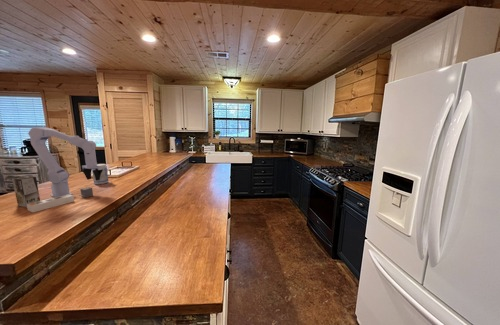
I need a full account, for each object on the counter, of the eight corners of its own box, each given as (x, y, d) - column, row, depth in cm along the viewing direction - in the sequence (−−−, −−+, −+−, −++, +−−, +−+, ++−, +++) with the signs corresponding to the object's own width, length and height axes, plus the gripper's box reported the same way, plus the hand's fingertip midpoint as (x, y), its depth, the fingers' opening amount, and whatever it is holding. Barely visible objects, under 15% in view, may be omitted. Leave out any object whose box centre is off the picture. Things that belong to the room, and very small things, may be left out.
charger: (81, 198, 126) (80, 190, 125) (77, 197, 128) (76, 189, 127) (93, 195, 132) (92, 188, 131) (89, 194, 134) (88, 187, 133)
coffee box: (41, 203, 118) (36, 176, 115) (26, 207, 112) (21, 179, 109) (32, 201, 121) (27, 175, 118) (17, 205, 115) (11, 177, 112)
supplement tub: (109, 183, 161) (107, 164, 158) (94, 185, 154) (92, 166, 152) (107, 180, 168) (105, 163, 165) (93, 182, 161) (90, 164, 159)
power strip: (32, 212, 106) (31, 205, 105) (27, 210, 109) (26, 203, 108) (74, 201, 122) (73, 195, 121) (69, 199, 125) (68, 193, 124)
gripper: (75, 159, 131) (78, 180, 133) (93, 161, 127) (95, 182, 129) (87, 158, 137) (89, 177, 140) (103, 159, 134) (106, 179, 136)
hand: (93, 179), depth 135 cm, fingers open, 7 cm apart
